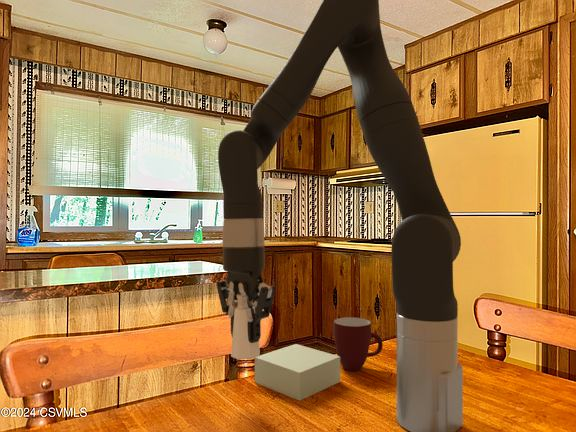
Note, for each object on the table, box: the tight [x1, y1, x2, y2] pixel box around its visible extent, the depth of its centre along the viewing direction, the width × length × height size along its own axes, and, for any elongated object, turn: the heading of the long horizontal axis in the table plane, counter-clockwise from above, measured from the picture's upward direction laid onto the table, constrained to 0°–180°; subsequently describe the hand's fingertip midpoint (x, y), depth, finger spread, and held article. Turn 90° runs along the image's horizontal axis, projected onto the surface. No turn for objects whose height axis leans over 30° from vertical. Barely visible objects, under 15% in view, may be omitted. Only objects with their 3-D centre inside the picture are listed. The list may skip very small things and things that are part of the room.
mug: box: [332, 316, 384, 372], centre depth 92 cm, size 10×8×10 cm
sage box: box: [254, 343, 341, 402], centre depth 84 cm, size 12×12×5 cm
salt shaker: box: [230, 294, 261, 360], centre depth 76 cm, size 5×5×11 cm
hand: (245, 339), depth 76 cm, fingers closed on salt shaker, 4 cm apart
